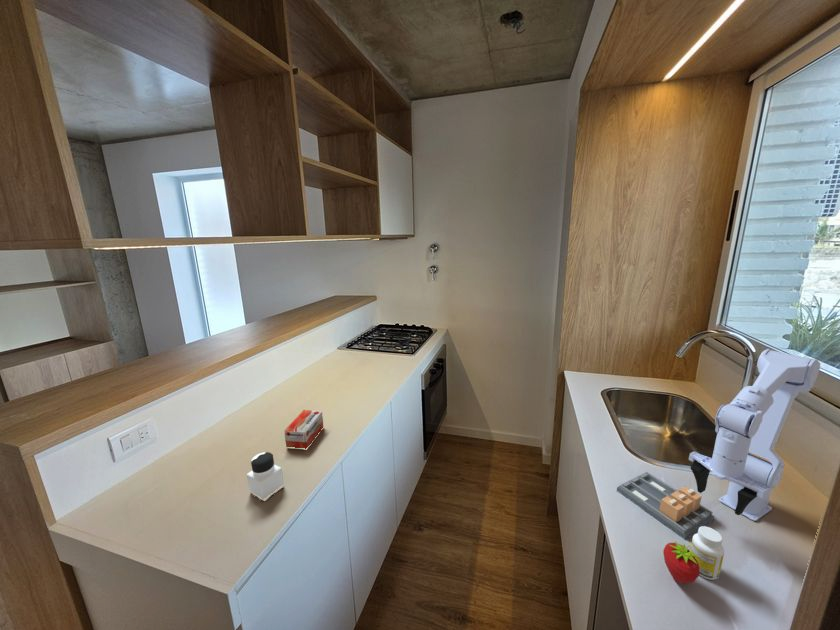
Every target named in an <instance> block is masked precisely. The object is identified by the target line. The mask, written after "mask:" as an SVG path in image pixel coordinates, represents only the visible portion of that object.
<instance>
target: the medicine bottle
mask: <svg viewBox="0 0 840 630" xmlns="http://www.w3.org/2000/svg"><path fill="white" fill-rule="evenodd" d="M250 464H251V470H250V471H249V472H248V473H247V474H246V480H247V484H248V490H250V491H251V492H253V493H254V494H256V495H258V496H260V497H261V498H262V499H264V498H266V497H267V496H268V495H270V494H271V493H273V492H274V491H275V490H276V489H278V488H279V487H280V486H282V485H283V484H284V485H285V483H284V477H283V470H282V467H280V466H279V465H276V464H275V461H274V455H273V453H272V452H269V451H265V452H261V453H258V454H256V455H254V456H253V458H251V461H250ZM250 491H249V492H250Z"/></svg>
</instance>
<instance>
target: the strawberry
mask: <svg viewBox="0 0 840 630" xmlns="http://www.w3.org/2000/svg"><path fill="white" fill-rule="evenodd" d="M689 547H690V545H688V546H686V543H684V544H683V545H682V544H681V543H680V544H679V543H678V542H677V541H676V540H674V542H668V543H666V544H665V546H664V548H663V550H662V552H663V553H662V554H663V558H664V563H665V566H666V568H667V569H668V572H669V573H670V575H671V576H672V578H673V580H674V581H675V582H676V583H679V584H680V583H681V584H690V583H694V582H695V581H696V580H697V579H698V578H699V577H700V575H699V573H700V572H699V564H698V562H697V560H696V558H695V557H699V556H697V555H695V554H694V553H692V552H690V549H688V548H689ZM699 558H700V557H699Z"/></svg>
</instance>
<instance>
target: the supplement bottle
mask: <svg viewBox="0 0 840 630" xmlns="http://www.w3.org/2000/svg"><path fill="white" fill-rule="evenodd" d="M722 543H723V536H722V535H721V534H720V532H718V531H717V530H715V529H714V528H712V527H710V526H707V525H706V526H701V527H699V530H698V531H697V532H696V533H694V534H693V535H692V539H691V544H690V549H689V551H690V552H692V553H694V554H695V555H697V556H699V557H700V558H699V557H695V558H696V560H697V562H698V564H699V572H700V573H699V577H702V578H704V579H707V580H712V581H715V580H717V579H719V577H720V575H721V569H722V566H723V560H724V556H725V548H724V547H723V545H722Z"/></svg>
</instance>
